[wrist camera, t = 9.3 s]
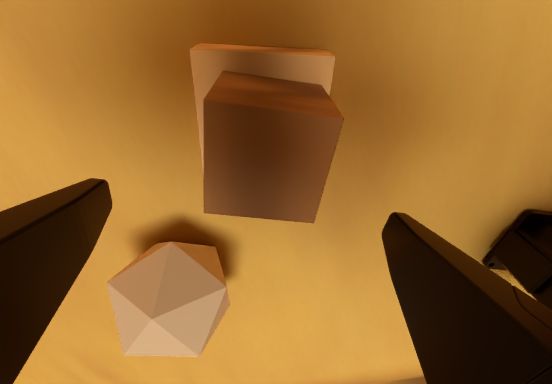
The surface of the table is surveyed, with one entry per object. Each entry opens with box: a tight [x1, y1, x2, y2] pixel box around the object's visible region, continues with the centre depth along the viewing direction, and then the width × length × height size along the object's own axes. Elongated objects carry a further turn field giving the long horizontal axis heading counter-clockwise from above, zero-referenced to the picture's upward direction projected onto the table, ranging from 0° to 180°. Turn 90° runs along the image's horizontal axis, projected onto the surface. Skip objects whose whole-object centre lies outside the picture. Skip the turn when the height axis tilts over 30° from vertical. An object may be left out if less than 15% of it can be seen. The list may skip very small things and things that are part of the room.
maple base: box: [189, 43, 335, 175], centre depth 16 cm, size 7×7×3 cm
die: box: [107, 242, 230, 357], centre depth 21 cm, size 8×9×10 cm
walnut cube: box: [203, 71, 344, 223], centre depth 13 cm, size 5×5×5 cm
